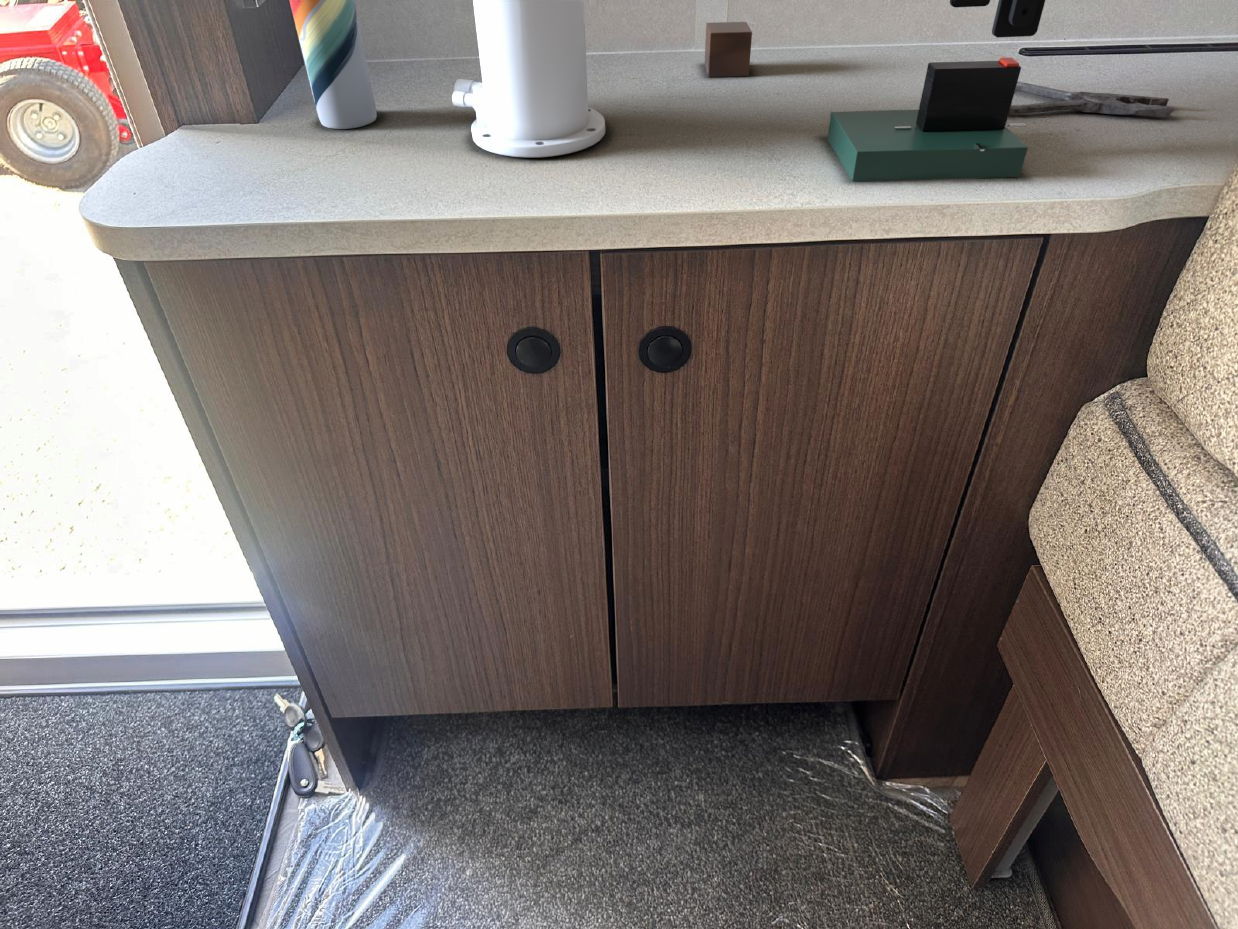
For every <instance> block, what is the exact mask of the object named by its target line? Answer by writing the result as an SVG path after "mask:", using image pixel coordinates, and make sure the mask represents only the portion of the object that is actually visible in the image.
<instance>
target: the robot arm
mask: <svg viewBox="0 0 1238 929" xmlns="http://www.w3.org/2000/svg"><path fill="white" fill-rule="evenodd" d="M472 3H473V12H474V13H473V14H474V21H475V28H476V29H475V30H476V37H477V45H478V46H477V47H478V54H479V56H478V57H479V64H480V72H481V80H482V81H477V80H476V79H467V78H456V80H455V82H454V85H453V92H452V95H451V101H452V105H453V106H454V107H461V108H473V110H474V111H475V114H476V115H475V116H476V119H475V120H474V121H473V122H472V124H471V128H470V130H471V135H472V141H473V142H474V143H475V145H477V147H479V148H481V149H483V150H484V151H487V152H490V153H492V154H496V155H499V156H506V157H513V158H548V157H550V158H551V157H557V156H564V155H569V154H572V153H577V152H579V151H582V150H583V151H584V150H585V149H588V148H590V147H592V146H594V145H596V144H597V143H598V142H600V141H601V140H602V139H603V137H604V136H605V135H606V119H605V118H604V116H603V115H602V114H601V113H600V112H598V111H597V110H595V109H594V108H591V107H589V95H588V71H587V70H588V69H587V68H588V67H587V46H586V23H585V0H472ZM990 3H991V0H949V4H950V6H951V7H952V8H975V7H987V6H988V5H989V4H990ZM1045 3H1046V0H998V2H997V7H996V11H995V16H994V20H993V24H992V28H991V34H992V35H993V36H994V37H995V38H997V39H998V38H1018V37H1020V38H1022V37H1033V36H1035V35H1036V34H1037V32H1038V30H1039V26H1040V22H1041V19H1042V15H1043V11H1044V7H1045Z"/></svg>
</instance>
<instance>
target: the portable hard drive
mask: <svg viewBox="0 0 1238 929" xmlns="http://www.w3.org/2000/svg"><path fill="white" fill-rule="evenodd" d="M1021 71H1022V66H1021V65H1020V63H1019V62H1018V61H1017V60H1015V59H1014V58H1013V57H999V59H998V60H973V61H972V60H971V61H934V62H933V61H932V62H931V61H929V62H928V64H927V68H926V74H925V77H924V81H923V82H924V83H923V88H922V91H921V96H920V102H919V106H918V110H919V111H918V116H917V121H916V125H917V126H918V127H919V128H920V129H921V130H922V132H932V131H970V130H1004V129H1005V127H1006V125H1007V121H1008V117H1009V115H1010V114H1009V111H1010V107H1011V105H1012V103H1013V99H1014V97H1015V96H1014V95H1015V92H1016V90H1015V89H1016V85H1017V81H1018V82H1019V77H1020V75H1021V74H1020V73H1021Z"/></svg>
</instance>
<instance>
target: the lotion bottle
mask: <svg viewBox="0 0 1238 929" xmlns="http://www.w3.org/2000/svg"><path fill="white" fill-rule="evenodd" d="M289 4H290V5H289V6H290V8H291V12H292V16H293V22H294V23H295V29H296V33H297V36H298V40H299V44H300V45H299V46H300V49H301V52H302V57H303V61H304V66H305V69H306V73H307V77H308V82H309V85H310V89H311V94H312V97H313V100H314V105H315V109H316V113H317V117H318V119H319V122H320V124H321V126H323V127H325V128H328V129H334V130H348V129H355V128H361V127H364V126H367V125H370V124H372V123H373V122H375V121H376V120H377V117H378V113H377V105H376V101H375V95H374V89H373V85H372V80H371V75H370V70H369V66H368V65H369V64H368V61H367V56H366V51H365V46H364V41H363V35H362V31H361V25H360V21H359V16H358V12H357V6H356V1H355V0H289Z"/></svg>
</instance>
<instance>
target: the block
mask: <svg viewBox="0 0 1238 929" xmlns="http://www.w3.org/2000/svg"><path fill="white" fill-rule="evenodd" d="M705 23H706V24H705V42H704V43H705V44H704V64H703V65H704V68H705V71H706V74H707V77H708V78H726V77H727V78H729V77H730V78H732V77H733V78H734V77H749V75H750V64H751V53H752V52H751V51H752V40H753V38H752V37H753V31H752V29H751V27H750V26H749V24H748V22H747V21H725V22H723V21H722V22H719V21H717V22H705Z"/></svg>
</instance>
